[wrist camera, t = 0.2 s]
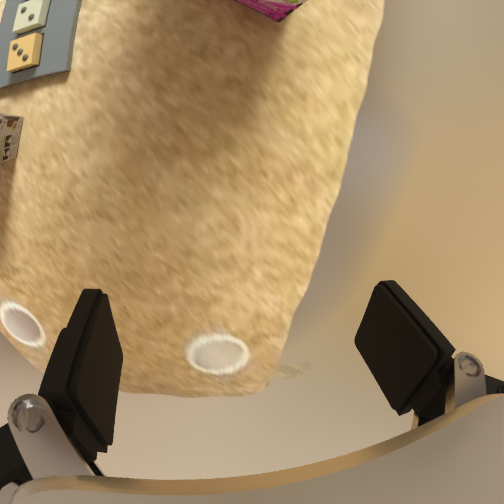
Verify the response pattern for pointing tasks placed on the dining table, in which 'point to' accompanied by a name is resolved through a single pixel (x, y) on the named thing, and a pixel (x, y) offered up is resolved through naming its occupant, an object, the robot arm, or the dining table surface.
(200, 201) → the dining table surface
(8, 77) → the board
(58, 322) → the dining table surface
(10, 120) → the coffee box
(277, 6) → the candy bar box
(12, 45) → the tile
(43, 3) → the tile
